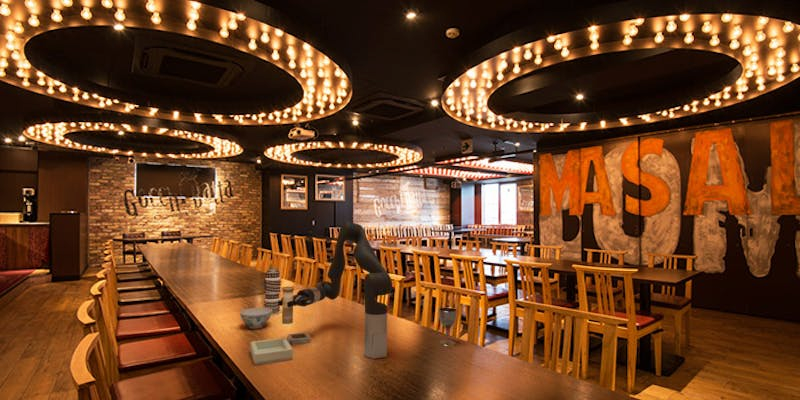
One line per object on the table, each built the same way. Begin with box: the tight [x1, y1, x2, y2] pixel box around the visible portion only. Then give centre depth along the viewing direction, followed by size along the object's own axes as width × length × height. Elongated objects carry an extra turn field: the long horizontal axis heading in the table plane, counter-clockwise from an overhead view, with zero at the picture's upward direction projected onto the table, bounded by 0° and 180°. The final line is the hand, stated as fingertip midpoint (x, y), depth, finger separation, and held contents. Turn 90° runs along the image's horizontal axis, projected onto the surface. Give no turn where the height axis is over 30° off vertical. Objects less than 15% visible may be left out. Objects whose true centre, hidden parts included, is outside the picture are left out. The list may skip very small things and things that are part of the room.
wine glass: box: [438, 306, 458, 347], centre depth 178 cm, size 8×8×15 cm
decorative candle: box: [263, 268, 282, 316], centre depth 225 cm, size 9×9×25 cm
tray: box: [250, 337, 294, 366], centre depth 160 cm, size 16×14×4 cm
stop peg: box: [281, 286, 295, 325], centre depth 171 cm, size 5×5×15 cm
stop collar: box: [286, 331, 311, 346], centre depth 179 cm, size 9×9×2 cm
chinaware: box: [239, 307, 272, 330], centre depth 199 cm, size 15×15×8 cm
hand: (283, 304), depth 168 cm, fingers closed on stop peg, 4 cm apart
